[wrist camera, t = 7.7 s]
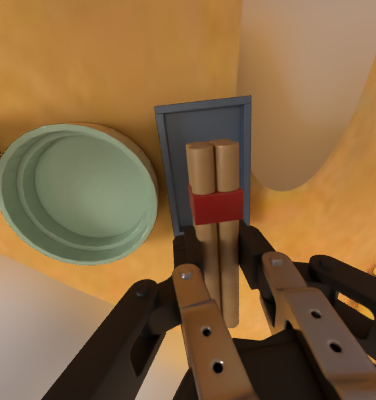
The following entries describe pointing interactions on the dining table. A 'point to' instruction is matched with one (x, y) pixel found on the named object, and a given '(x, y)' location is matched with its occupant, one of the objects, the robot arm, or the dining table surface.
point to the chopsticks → (217, 218)
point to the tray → (195, 132)
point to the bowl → (78, 192)
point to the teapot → (364, 309)
